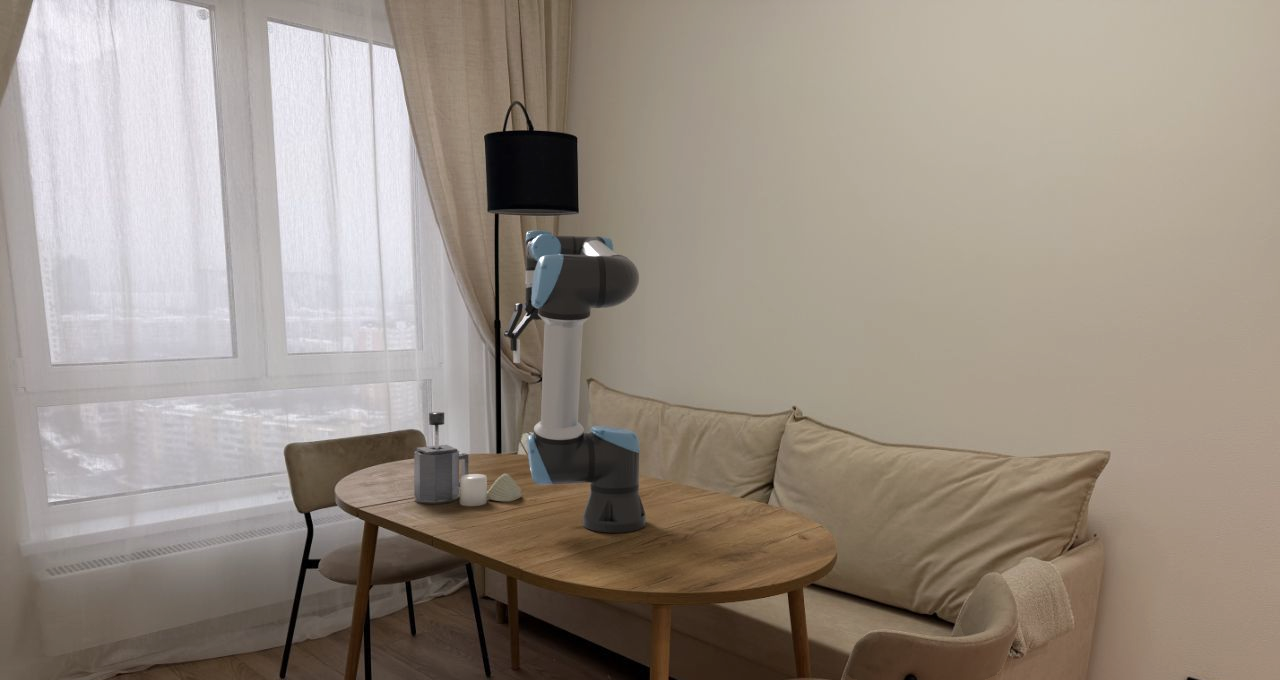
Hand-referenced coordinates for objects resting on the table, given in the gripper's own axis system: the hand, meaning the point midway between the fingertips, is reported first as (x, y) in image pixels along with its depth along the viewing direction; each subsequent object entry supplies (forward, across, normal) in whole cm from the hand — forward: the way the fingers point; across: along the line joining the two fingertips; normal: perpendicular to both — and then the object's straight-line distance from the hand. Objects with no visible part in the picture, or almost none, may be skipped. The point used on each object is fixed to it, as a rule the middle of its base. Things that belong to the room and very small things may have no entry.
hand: (538, 362), depth 216 cm
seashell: (+37, +11, +2) cm, 39 cm away
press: (+37, +26, -7) cm, 45 cm away
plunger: (+32, +27, -7) cm, 43 cm away
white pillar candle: (+37, +20, +2) cm, 42 cm away
